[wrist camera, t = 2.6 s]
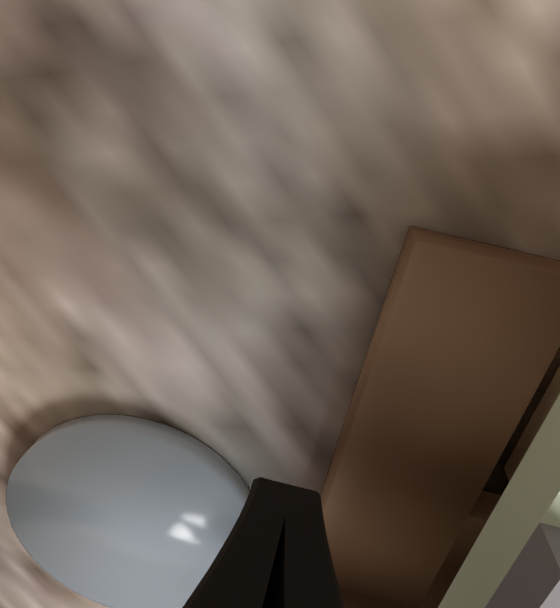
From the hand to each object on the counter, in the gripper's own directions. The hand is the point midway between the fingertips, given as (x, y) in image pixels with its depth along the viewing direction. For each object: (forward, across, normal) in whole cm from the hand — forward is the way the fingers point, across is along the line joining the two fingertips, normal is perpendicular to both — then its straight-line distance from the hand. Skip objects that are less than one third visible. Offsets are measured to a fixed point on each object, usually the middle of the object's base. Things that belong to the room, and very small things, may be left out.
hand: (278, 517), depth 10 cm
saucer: (+5, +4, +7) cm, 9 cm away
